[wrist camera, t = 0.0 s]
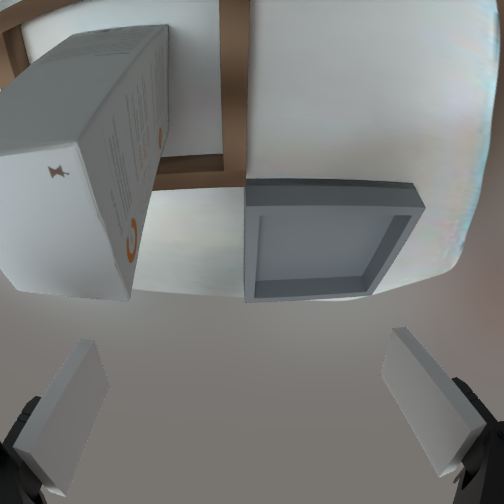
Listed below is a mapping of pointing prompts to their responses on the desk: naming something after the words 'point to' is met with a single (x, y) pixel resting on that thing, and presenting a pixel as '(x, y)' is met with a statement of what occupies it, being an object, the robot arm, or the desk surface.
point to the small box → (82, 161)
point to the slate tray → (323, 236)
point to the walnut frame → (232, 94)
